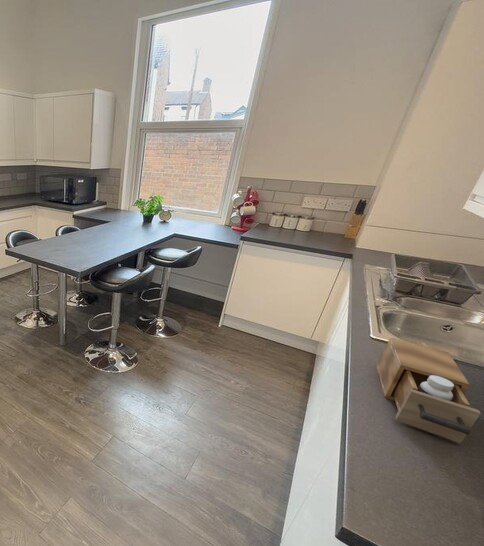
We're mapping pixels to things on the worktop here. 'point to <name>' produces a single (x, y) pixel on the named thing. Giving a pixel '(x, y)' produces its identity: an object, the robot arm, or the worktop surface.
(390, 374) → the cabinet
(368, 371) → the worktop surface
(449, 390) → the pill bottle
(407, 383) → the drawer
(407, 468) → the worktop surface
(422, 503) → the worktop surface
